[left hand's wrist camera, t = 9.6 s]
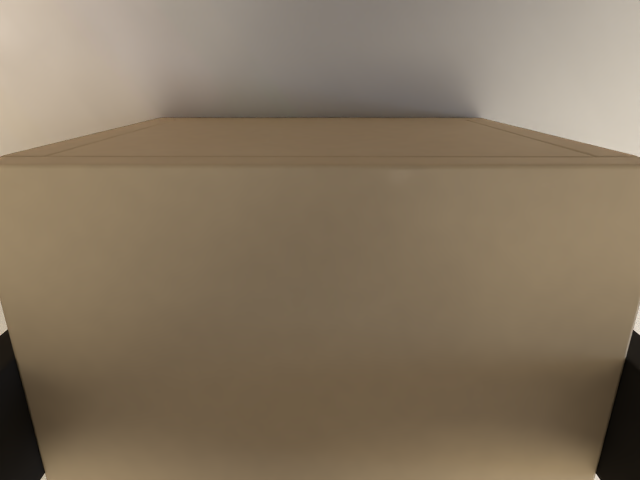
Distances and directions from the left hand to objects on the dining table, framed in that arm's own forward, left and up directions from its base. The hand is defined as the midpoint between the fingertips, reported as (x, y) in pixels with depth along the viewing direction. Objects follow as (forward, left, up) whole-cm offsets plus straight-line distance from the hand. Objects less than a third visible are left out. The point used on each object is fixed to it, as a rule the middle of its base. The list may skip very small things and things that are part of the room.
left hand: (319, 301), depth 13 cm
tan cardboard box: (+4, -1, -4) cm, 6 cm away
